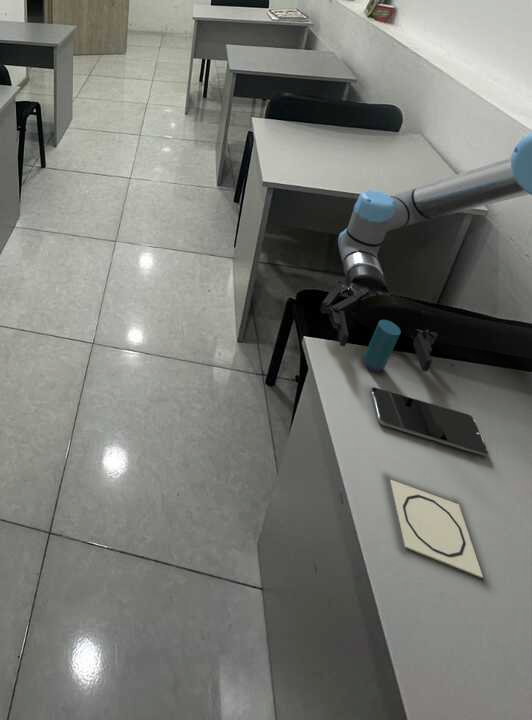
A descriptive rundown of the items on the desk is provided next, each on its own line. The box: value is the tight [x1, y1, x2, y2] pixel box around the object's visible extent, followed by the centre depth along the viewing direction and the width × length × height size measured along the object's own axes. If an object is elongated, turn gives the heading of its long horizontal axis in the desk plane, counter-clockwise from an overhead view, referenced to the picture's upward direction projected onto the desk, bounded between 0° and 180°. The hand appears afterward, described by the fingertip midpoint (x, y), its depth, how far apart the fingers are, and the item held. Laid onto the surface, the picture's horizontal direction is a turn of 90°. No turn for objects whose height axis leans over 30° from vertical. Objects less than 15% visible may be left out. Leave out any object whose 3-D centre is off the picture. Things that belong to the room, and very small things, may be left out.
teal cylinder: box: [363, 319, 402, 373], centre depth 90 cm, size 4×4×10 cm
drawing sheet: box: [389, 479, 484, 579], centre depth 68 cm, size 9×9×1 cm
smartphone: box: [370, 386, 490, 457], centre depth 82 cm, size 7×1×16 cm
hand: (384, 353), depth 88 cm, fingers open, 13 cm apart
